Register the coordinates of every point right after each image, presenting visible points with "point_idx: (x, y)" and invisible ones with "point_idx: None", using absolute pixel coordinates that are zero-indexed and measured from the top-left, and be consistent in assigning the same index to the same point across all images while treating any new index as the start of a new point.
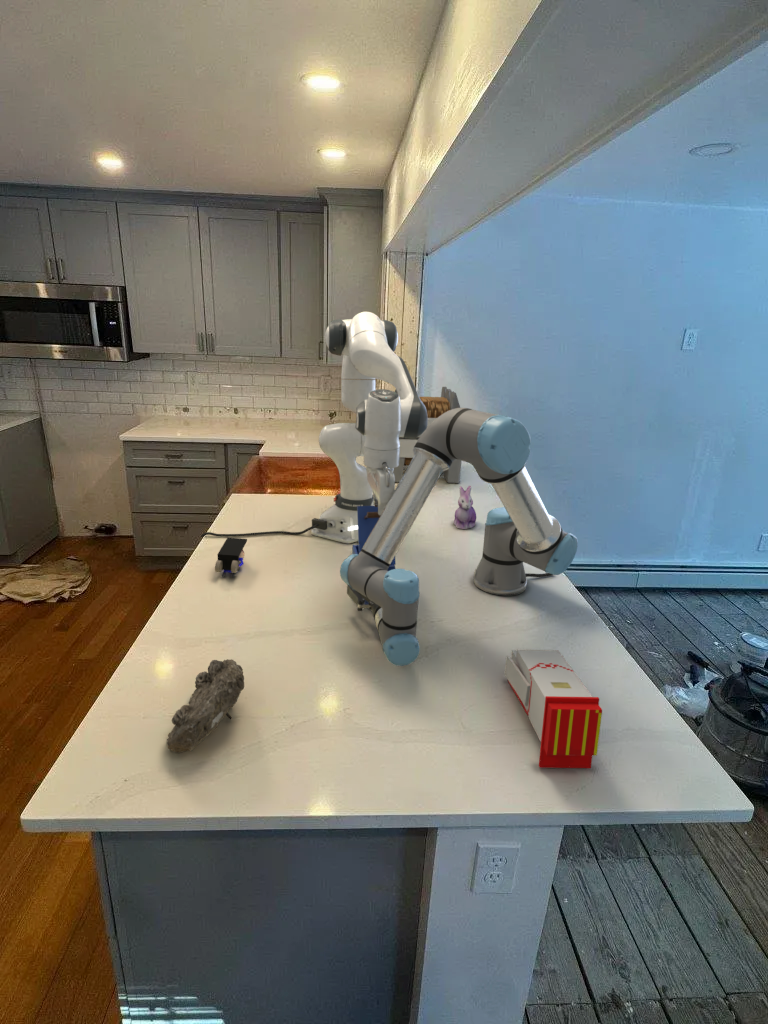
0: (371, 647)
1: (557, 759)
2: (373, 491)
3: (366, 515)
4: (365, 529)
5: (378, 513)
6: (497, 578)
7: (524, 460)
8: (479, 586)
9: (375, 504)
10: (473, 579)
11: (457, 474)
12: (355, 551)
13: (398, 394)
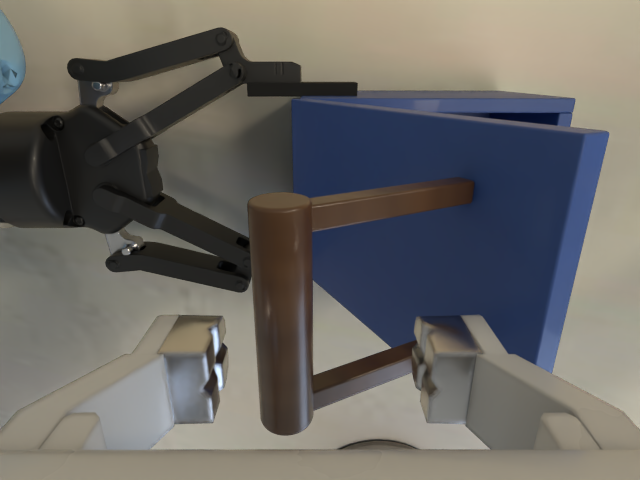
0: (32, 94)
1: None
2: (257, 475)
3: (352, 196)
4: (401, 166)
5: (156, 321)
6: None
7: None
8: (354, 449)
9: (425, 334)
10: (399, 446)
11: None
12: (492, 104)
13: None
